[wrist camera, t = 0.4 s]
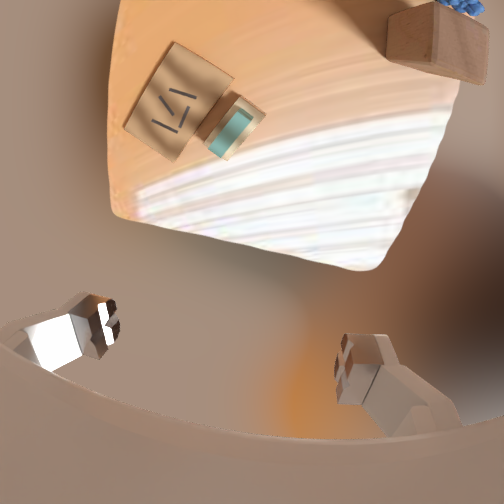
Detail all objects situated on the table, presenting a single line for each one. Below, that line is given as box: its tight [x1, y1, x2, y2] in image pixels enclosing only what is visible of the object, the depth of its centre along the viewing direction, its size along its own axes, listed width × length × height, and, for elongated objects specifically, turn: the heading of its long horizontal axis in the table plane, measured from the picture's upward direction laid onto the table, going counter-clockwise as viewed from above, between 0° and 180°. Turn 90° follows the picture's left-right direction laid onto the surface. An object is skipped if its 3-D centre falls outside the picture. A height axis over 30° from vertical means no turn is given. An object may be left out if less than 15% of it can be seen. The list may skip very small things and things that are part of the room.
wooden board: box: [124, 43, 234, 163], centre depth 50 cm, size 22×14×1 cm, turn 143°
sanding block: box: [203, 95, 266, 161], centre depth 50 cm, size 12×6×6 cm, turn 142°
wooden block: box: [386, 2, 489, 85], centre depth 28 cm, size 10×10×20 cm
